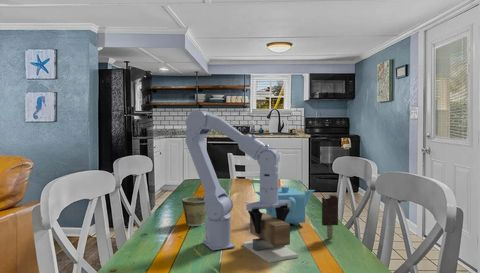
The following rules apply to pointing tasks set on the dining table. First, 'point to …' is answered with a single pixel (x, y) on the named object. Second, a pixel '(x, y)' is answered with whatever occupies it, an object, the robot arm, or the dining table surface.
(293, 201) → the teakettle
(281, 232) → the walnut beam
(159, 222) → the dining table surface
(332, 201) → the ice cream bar
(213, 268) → the dining table surface
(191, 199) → the plant pot
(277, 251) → the fulcrum board
